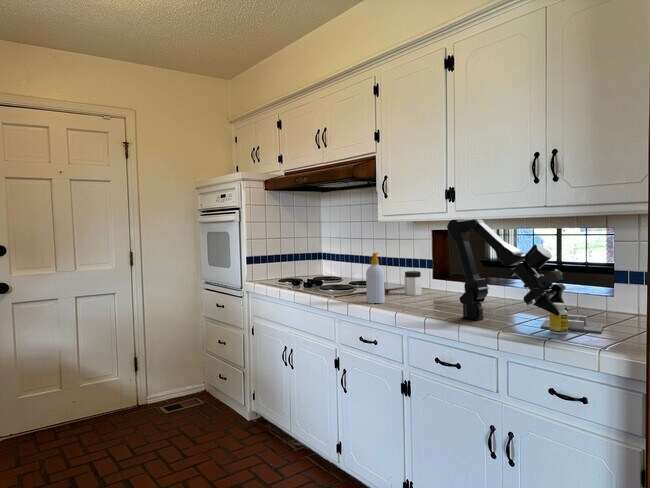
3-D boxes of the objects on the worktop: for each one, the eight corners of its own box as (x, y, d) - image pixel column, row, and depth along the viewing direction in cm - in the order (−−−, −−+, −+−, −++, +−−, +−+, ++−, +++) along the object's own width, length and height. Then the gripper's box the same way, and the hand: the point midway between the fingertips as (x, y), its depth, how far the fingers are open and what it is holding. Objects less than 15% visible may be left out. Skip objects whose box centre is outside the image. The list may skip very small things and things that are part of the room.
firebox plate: (540, 328, 162) (540, 318, 161) (546, 321, 172) (546, 312, 171) (600, 333, 152) (600, 323, 151) (603, 326, 162) (603, 317, 161)
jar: (412, 296, 240) (412, 273, 239) (401, 294, 246) (401, 272, 246) (424, 294, 245) (424, 271, 244) (413, 292, 251) (412, 270, 251)
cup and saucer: (394, 293, 252) (394, 282, 251) (380, 296, 243) (380, 284, 243) (377, 291, 260) (376, 280, 260) (362, 294, 252) (362, 283, 251)
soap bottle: (387, 301, 226) (386, 252, 225) (381, 304, 217) (380, 253, 217) (370, 300, 230) (369, 252, 229) (364, 303, 221) (363, 253, 220)
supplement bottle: (562, 335, 150) (562, 305, 150) (546, 332, 155) (546, 303, 154) (571, 332, 154) (570, 303, 153) (554, 330, 158) (554, 301, 158)
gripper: (532, 264, 151) (567, 301, 142) (559, 260, 162) (593, 294, 154) (509, 286, 157) (542, 323, 149) (537, 281, 169) (569, 315, 160)
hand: (562, 313), depth 153 cm, fingers closed on supplement bottle, 5 cm apart
